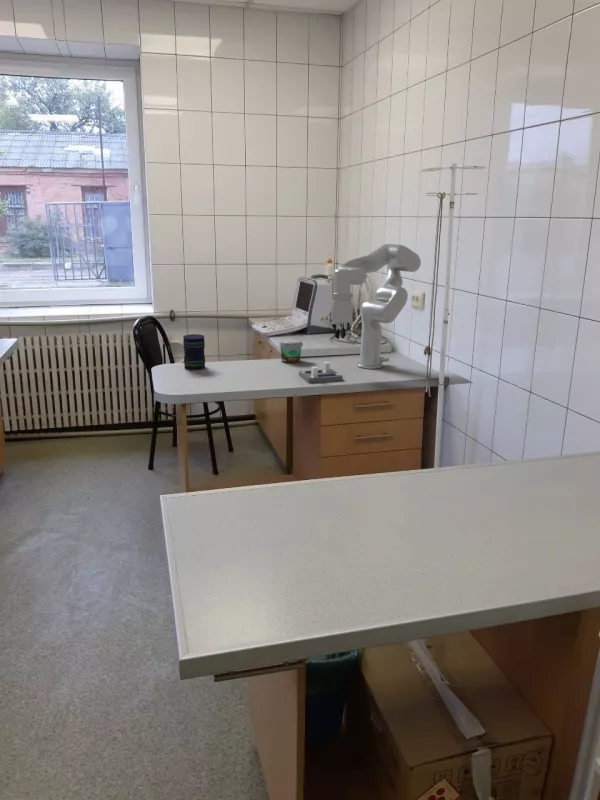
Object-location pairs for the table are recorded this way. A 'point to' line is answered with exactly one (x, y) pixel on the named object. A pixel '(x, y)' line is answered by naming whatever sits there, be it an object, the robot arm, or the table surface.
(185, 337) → the storage jar
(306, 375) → the switch bank
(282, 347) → the food container
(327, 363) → the tab
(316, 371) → the tab
